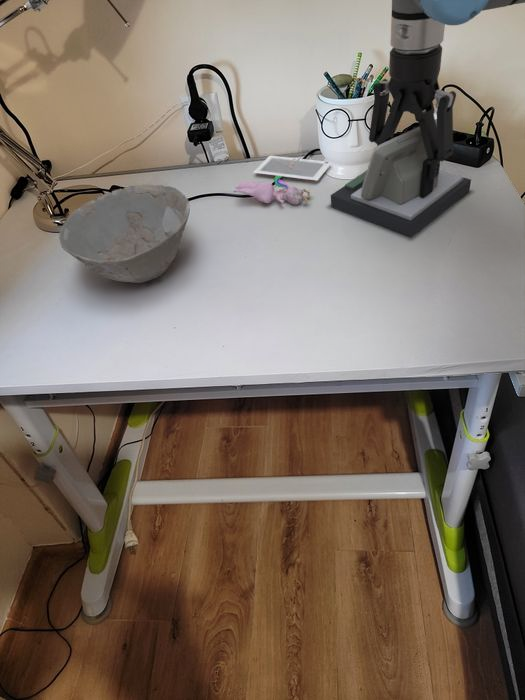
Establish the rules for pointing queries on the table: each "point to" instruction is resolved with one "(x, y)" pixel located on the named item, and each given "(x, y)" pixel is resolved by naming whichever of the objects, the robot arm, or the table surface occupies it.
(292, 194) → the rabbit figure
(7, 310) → the table surface
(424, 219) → the scale
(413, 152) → the digital clock
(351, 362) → the table surface
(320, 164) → the touchpad
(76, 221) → the ceramic bowl
